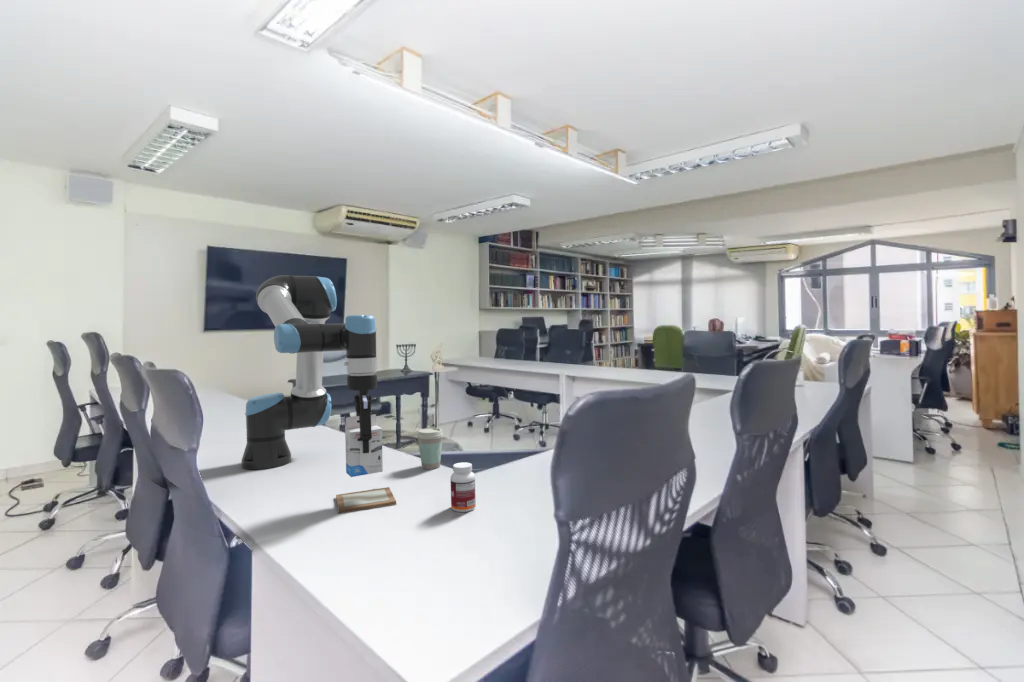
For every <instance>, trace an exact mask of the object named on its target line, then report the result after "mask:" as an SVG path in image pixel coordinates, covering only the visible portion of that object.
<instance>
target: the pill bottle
mask: <svg viewBox="0 0 1024 682" xmlns="http://www.w3.org/2000/svg"><path fill="white" fill-rule="evenodd" d="M452 471H453V473H451V475H450V506H451V509H452V510H453V511H454V512H457V513H466V512H467V513H468V512H471V511H473V510H474V509H476V506H477V505H476V504H477V503H476V501H477V499H476V498H477V497H476V476H475V473H474V472H473V464H472V463H470V462H467V461H466V462H457V463H454V464H453V465H452Z"/></svg>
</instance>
